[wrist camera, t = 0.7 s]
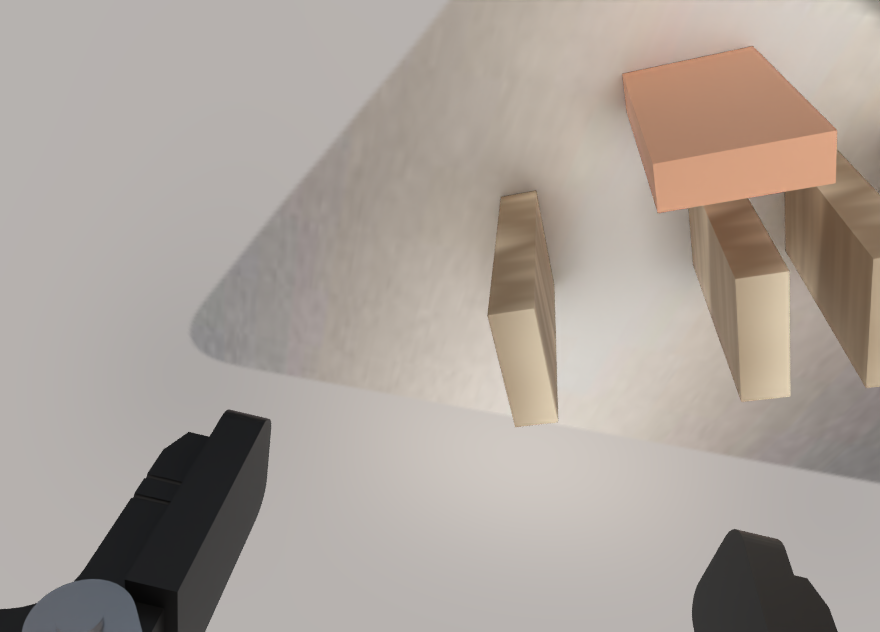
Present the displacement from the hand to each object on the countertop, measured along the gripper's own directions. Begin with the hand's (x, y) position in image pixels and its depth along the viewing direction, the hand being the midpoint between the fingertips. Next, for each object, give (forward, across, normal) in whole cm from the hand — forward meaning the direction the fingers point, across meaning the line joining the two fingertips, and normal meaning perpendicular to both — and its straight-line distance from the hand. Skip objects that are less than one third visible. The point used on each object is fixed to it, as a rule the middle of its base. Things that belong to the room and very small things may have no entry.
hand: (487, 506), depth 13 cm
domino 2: (+22, -6, -3) cm, 23 cm away
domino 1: (+22, -1, +6) cm, 23 cm away
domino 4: (+23, -12, +1) cm, 26 cm away
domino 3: (+23, -9, +2) cm, 24 cm away
